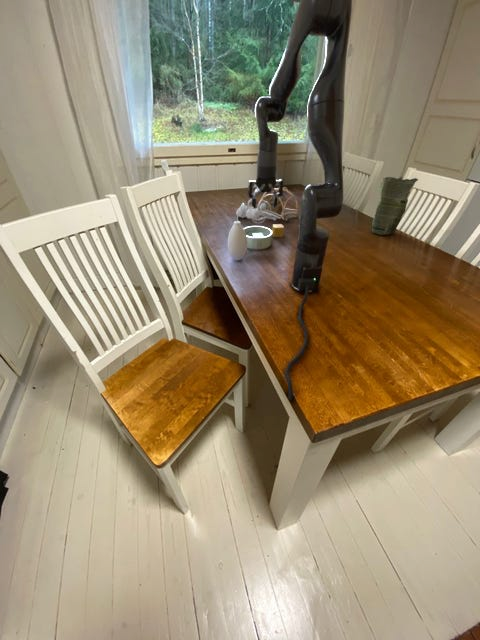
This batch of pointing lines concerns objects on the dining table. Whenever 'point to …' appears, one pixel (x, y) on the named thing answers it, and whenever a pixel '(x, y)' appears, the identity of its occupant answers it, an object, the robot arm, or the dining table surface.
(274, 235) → the mustard cube
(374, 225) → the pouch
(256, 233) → the blue cube
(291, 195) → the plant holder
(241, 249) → the sauce bottle
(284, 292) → the dining table surface
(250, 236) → the bowl
